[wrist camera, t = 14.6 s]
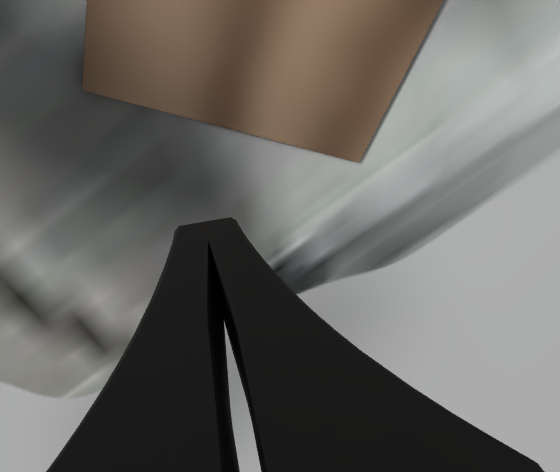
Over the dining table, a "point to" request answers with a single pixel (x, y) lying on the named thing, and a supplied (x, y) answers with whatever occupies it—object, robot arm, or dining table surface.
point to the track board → (259, 63)
